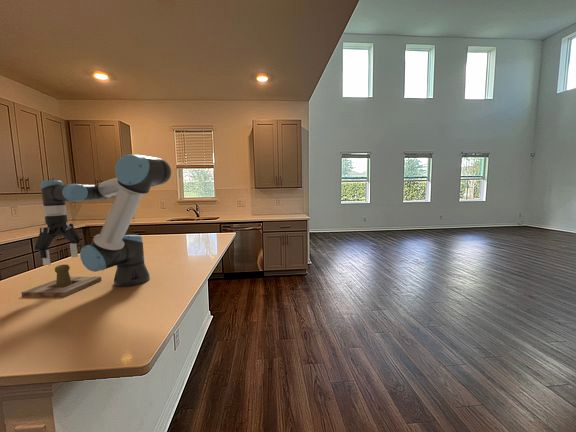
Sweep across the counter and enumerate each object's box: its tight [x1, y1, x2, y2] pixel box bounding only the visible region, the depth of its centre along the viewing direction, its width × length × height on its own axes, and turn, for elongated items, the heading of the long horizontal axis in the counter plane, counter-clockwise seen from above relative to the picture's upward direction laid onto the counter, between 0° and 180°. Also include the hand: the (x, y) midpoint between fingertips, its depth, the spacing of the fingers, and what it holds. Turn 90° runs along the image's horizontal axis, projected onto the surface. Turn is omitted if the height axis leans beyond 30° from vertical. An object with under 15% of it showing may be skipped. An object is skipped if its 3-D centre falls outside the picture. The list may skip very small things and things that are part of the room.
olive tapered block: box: [54, 264, 72, 288], centre depth 122 cm, size 6×6×11 cm
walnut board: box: [21, 276, 103, 298], centre depth 123 cm, size 20×20×2 cm
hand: (61, 260), depth 122 cm, fingers open, 13 cm apart
